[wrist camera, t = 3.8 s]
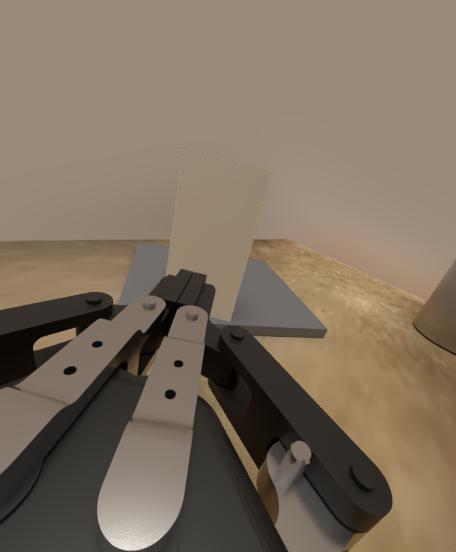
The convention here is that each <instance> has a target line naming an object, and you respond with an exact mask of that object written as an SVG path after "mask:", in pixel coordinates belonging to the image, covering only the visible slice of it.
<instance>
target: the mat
mask: <svg viewBox="0 0 456 552" xmlns="http://www.w3.org/2000/svg"><path fill="white" fill-rule="evenodd" d="M168 254H169V247H167V246H160V245H153V244H146V243H138V246H137V249H136V252H135V255H134V258H133V261H132V264H131V267H130V270H129V273H128V276H127V279H126V282H125V285H124V288H123V291H122V294H121V297H120V300H119V303H118V305H129V304H130V303H131V302H132V301H134V300H135V299H136V298H138V297H140V296H147V295H149V294H150V293H151V291H152V290H153V289H154V288H155V287H156V286H157V284H158V283H159V282H160V281H161V279H162V278H163V277H165V276H166V268H167V261H168ZM209 319H210V321H211V322H212V323H213V324H214V325H215V326H216V327H218V328H220V329H223V328H224V327H226V326H230V325H235V326H239V327H242V328H244V329H246V330H247V331H249V332H250V333H251V334H252V335H257V336H286V337H314V338H324V336H325V334H326V332H327V330H328V329H327V328H326V327H325V326H324V325H323V324H322V323H321V322H320V321H319V320H318V319H317V317H316V316H315V315H314V314H313V313H312V312H311V311H310V310H309V309H308V308H307V307H306V305H305V304H304V303H303V302H302V301H301V300H300V299H299V298H298V297H297V296H296V295H295V294H294V292H293V291H292V290H291V289H290V288H289V287H288V286H287V285H286V284H285V283H284V282H283V281H282V279H281V278H280V277H279V276H278V275H277V274H276V273H275V272H274V271H273V270H272V269H271V267H270V266H269V265H268V264H267V263H266V262H265V261H264V260H258V259H251V258H248V261H247V265H246V268H245V272H244V275H243V279H242V282H241V286H240V289H239V293H238V296H237V300H236V303H235V307H234V310H233V314H232V317H231V321H230V322H229V321H225V320H221V319H216V318H212V317H209Z"/></svg>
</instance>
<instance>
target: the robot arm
mask: <svg viewBox="0 0 456 552" xmlns="http://www.w3.org/2000/svg"><path fill="white" fill-rule="evenodd" d="M206 278H207V275H205V274H201V273H197V272H193V271H189V270H185V269H180V271H179V272H178V274H177V275H176V276H174V275H168V276H165V277H163V278H162V279H161V281H160V282H159V283H158V284H157V286H156V287H155V288H154V289H153V290H152V291H151V293H150V294H149V295H147V296H140V297H138V298H136V299H135V300H134V301H132V302H131V303H130V304H129V305H113V298H112V297H111V296H110V295H108V294H105V293H101V292H90V293H84V294H79V295H74V296H69V297H64V298H59V299H54V300H49V301H44V302H39V303H34V304H29V305H23V306H18V307H13V308H8V309H3V310H0V552H348V551H349V550H350V549H351V548H352V547H353V546H354V545H355V544H356V543H357V542H358V541H359V540H360V539H361V538H362V537H363V536H364V535H366V534H367V533H368V532H369V531H370V530H371V529H372V528H373V527H374V526H375V525H376V524H377V523H378V522H379V521H380V520H381V519H382V518H383V517H385V516H386V515H387V514H388V513H389V511H390V510H391V508H392V494H391V490H390V487H389V485H388V483H387V481H386V479H385V477H384V476H383V474H382V473H381V471H380V470H379V469H378V467H377V466H376V465H375V464H374V463H373V462H372V461H371V460H370V459H369V458H368V457H367V455H366V454H365V453H364V452H363V451H362V450H361V449H360V448H359V447H358V446H357V445H356V444H355V443H354V442H353V441H352V440H351V439H350V438H349V437H348V435H347V434H346V433H345V432H344V431H343V430H342V429H341V428H340V427H339V426H338V425H337V424H336V423H335V422H334V421H333V420H332V419H331V418H330V417H329V416H328V414H327V413H326V412H325V411H324V410H323V409H322V408H321V407H320V406H319V405H318V404H317V403H316V402H315V401H314V400H313V399H312V398H311V397H310V396H309V394H308V393H307V392H306V391H305V390H304V389H303V388H302V387H301V386H300V385H299V384H298V383H297V382H296V381H295V380H294V379H293V378H292V377H291V376H290V374H289V373H288V372H287V371H286V370H285V369H284V368H283V367H282V366H281V365H280V364H279V363H278V362H277V361H276V360H275V359H274V358H273V357H272V356H271V354H270V353H269V352H268V351H267V350H266V349H265V348H264V347H263V346H262V345H261V344H260V343H259V342H258V341H257V340H256V339H255V338H254V337H253V336H252V334H251V333H250V332H249V331H247V330H246V329H244V328H242V327H239V326H235V325H230V326H226V327H224V328H223V329H220V328H218V327H216V326H215V325H214V324H213V323H212V322H211V321H210V319H209V317H210V313H211V309H212V305H213V301H214V297H215V293H216V289H215V287H214V285H211V284H207V283H206ZM413 323H414V326H415V327H416V328H417V329H418V330H419V331H420V332H421V333H422V334H423V335H425V336H426V337H427V338H429V339H430V340H432V341H433V342H435V343H437V344H438V345H440V346H442V347H444V348H445V349H447V350H449V351H451V352H453V353H456V259H455V261H454V262H453V264H452V265H451V267H450V268H449V270H448V271H447V273H446V274H445V276H444V277H443V278H442V280H441V282H440V283H439V284H438V286H437V287H436V289H435V290H434V292H433V293H432V295H431V296H430V298H429V299H428V301H427V302H426V303H425V305H424V306H423V308H422V309H421V311H420V312H419V314H418V315H417V317H416V318H415V320H414V322H413ZM75 327H76V338H74V339H72V340H69V341H66V342H62V343H59V344H56V345H53V346H50V347H47V348H43V349H40V350H36V351H33V345H34V343H35V342H36V341H37V340H38V339H40V338H41V337H44V336H47V335H51V334H54V333H58V332H61V331H65V330H68V329H72V328H75ZM153 362H154V364H153ZM152 364H153V366H152ZM151 366H152V369H151V371H150V374H149V376H145V375H146V374H147V372H148V370H149V369H150V367H151ZM200 374H201V375H203V376H204V377H206V378H208V385H209V388H210V389H211V391H212V393H213V394H214V396H215V398H216V399H217V401H218V403H219V404H220V406H221V408H222V409H223V411H224V413H225V414H226V416H227V418H228V419H229V421H230V423H231V424H232V426H233V428H234V429H235V431H236V433H237V434H238V436H239V438H240V439H241V441H242V443H243V444H244V446H245V448H246V449H247V451H248V453H249V454H250V456H251V458H252V459H253V461H254V463H255V464H256V466H257V468H258V469H259V471H258V474H257V481H256V482H257V491H258V492H257V491H256V489H255V487H254V485H253V483H252V481H251V479H250V477H249V475H248V473H247V471H246V470H245V468H244V466H243V464H242V462H241V460H240V458H239V456H238V454H237V452H236V450H235V449H234V447H233V445H232V443H231V441H230V439H229V437H228V435H227V433H226V431H225V429H224V427H223V426H222V424H221V422H220V420H219V418H218V416H217V414H216V413H215V412H214V410H213V409H212V407H211V406H210V405H209V404H208V403H207V402H206V401H205V400H204V399H203V398H202V397H200V396H199V395H198V388H199V381H200Z"/></svg>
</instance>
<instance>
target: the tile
mask: <svg viewBox="0 0 456 552" xmlns="http://www.w3.org/2000/svg"><path fill="white" fill-rule="evenodd" d="M272 174H273V172H272V171H269V170H264V169H261V168H257V167H253V166H249V165H245V164H241V163H238V162H234V161H230V160H226V159H222V158H218V157H214V156H210V155H207V154H203V153H198V152H194V151H191V150H187V149H183V152H182V159H181V166H180V174H179V181H178V188H177V196H176V203H175V210H174V218H173V225H172V232H171V239H170V247H169V254H168V261H167V268H166V276H168V275H174V276H176V275H177V274H178V272H179V271H180V269H185V270H189V271H193V272H197V273H201V274H205V275H207V278H206V283H207V284H211V285H214V287H215V289H216V293H215V297H214V301H213V305H212V309H211V313H210V317H212V318H216V319H221V320H225V321H229V322H230V321H231V317H232V314H233V310H234V307H235V303H236V300H237V296H238V293H239V289H240V286H241V282H242V279H243V275H244V272H245V268H246V265H247V261H248V258H249V254H250V251H251V247H252V244H253V241H254V237H255V234H256V230H257V227H258V223H259V220H260V216H261V212H262V209H263V206H264V202H265V199H266V195H267V192H268V188H269V185H270V181H271V178H272Z"/></svg>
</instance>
